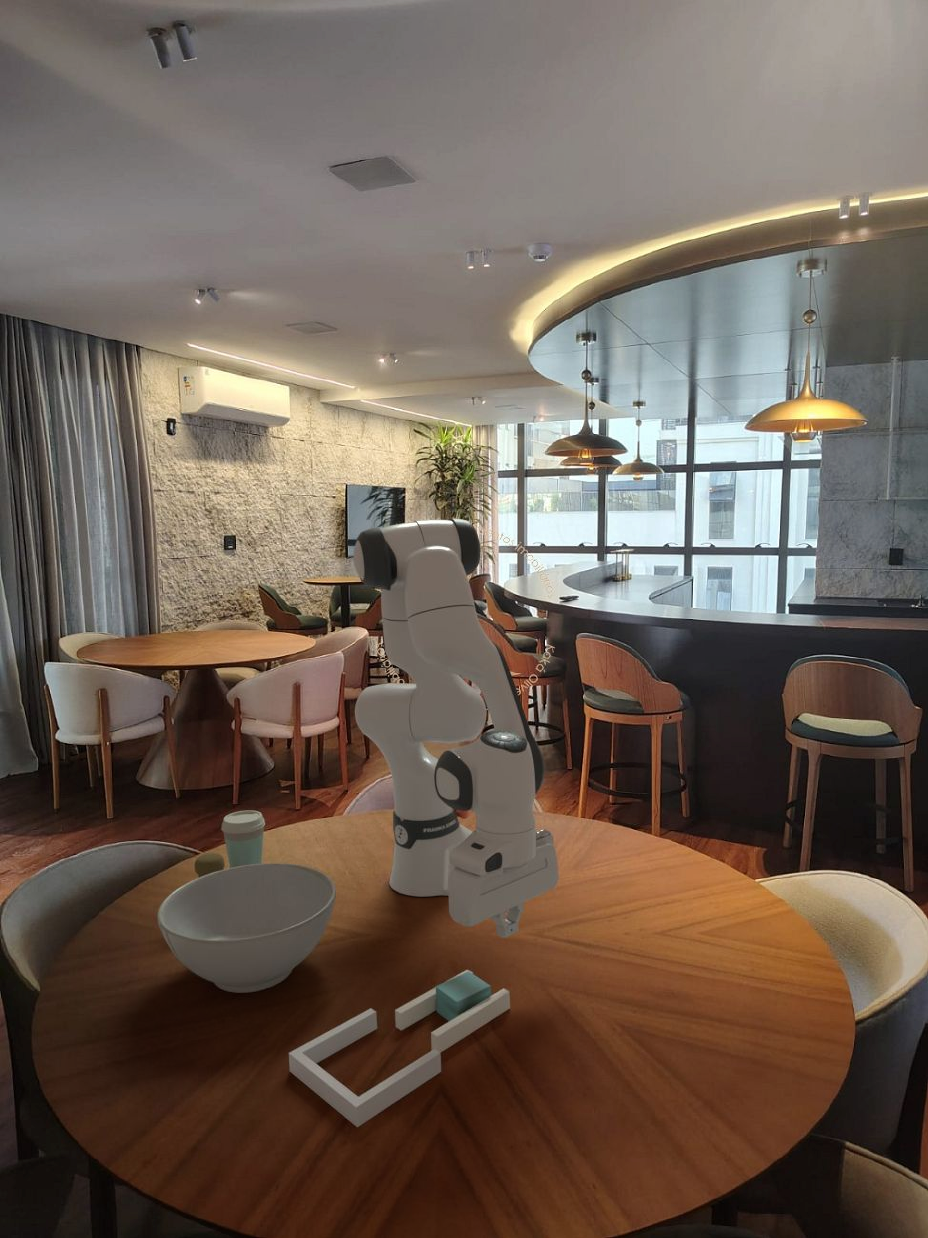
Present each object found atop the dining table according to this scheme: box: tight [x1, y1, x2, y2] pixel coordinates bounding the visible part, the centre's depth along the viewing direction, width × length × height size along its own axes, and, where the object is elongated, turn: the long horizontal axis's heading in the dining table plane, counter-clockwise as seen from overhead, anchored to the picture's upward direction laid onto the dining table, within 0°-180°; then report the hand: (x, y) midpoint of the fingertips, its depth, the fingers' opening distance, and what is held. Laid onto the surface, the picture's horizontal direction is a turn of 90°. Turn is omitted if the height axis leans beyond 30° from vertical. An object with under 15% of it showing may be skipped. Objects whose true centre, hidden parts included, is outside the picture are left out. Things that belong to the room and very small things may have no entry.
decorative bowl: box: [157, 862, 337, 994], centre depth 127 cm, size 27×27×12 cm
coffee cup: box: [220, 809, 266, 868], centre depth 164 cm, size 8×9×12 cm
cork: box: [194, 852, 226, 878], centre depth 147 cm, size 6×6×11 cm
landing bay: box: [288, 1007, 442, 1128], centre depth 103 cm, size 13×14×2 cm
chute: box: [394, 969, 511, 1053], centre depth 114 cm, size 14×9×2 cm, turn 134°
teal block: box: [435, 970, 492, 1022], centre depth 115 cm, size 6×5×4 cm
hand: (507, 934), depth 120 cm, fingers closed
